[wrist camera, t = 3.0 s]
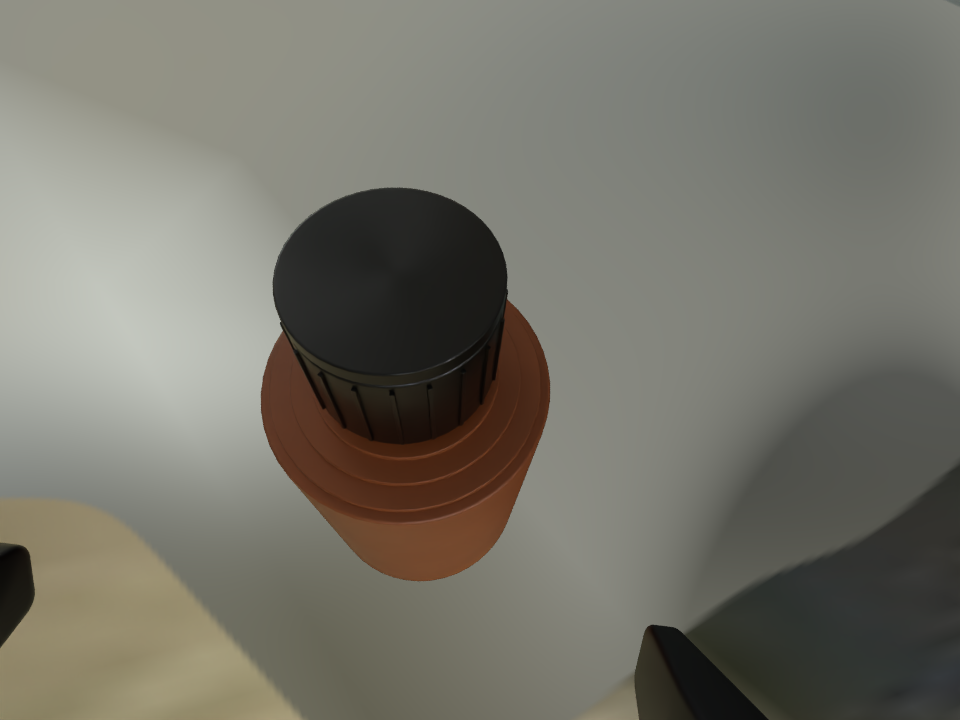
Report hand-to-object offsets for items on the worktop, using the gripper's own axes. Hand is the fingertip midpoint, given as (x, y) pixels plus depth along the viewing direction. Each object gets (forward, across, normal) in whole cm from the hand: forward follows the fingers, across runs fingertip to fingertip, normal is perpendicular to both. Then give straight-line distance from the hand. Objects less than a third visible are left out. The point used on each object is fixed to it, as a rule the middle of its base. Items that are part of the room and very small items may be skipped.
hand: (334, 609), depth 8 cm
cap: (+5, 0, -2) cm, 5 cm away
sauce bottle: (+12, 0, +5) cm, 13 cm away
